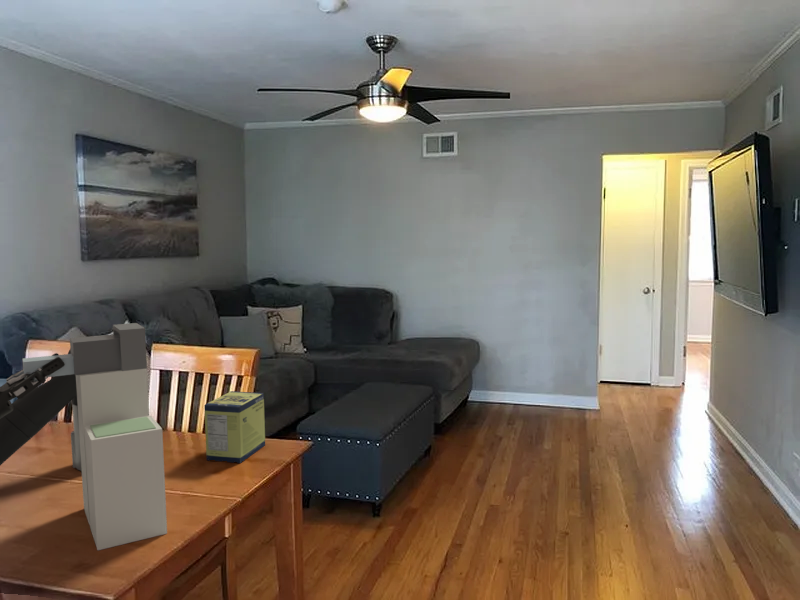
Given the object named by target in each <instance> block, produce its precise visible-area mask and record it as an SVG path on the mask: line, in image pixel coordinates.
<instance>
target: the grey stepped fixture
mask: <svg viewBox="0 0 800 600" xmlns="http://www.w3.org/2000/svg"><path fill="white" fill-rule="evenodd" d="M113 334H120V350H121V369H122V370H116V371H108V372H99V373H90V374H81V375H76V388H77V404H78V420H79V436H80V453H81V469H82V471H81V480H82V481H81V483H82V498H83V499H82V501H83V510H84V514H85V516H86V519H87V522H88V525H89V529H90V531H91V534H92V537H93V541H94V543H95V546H96V551H102V550H106V549H109V548H113V547H114V548H115V547H118V546H121V545H125V544H129V543H130V544H131V543H134V542H138V541H142V540H146V539H150V538H155V537H159V536H162V535H167V534H168V523H167V522H168V521H167V502H166V499H167V498H166V481H165V463H164V462H165V460H164V458H165V457H164V442H163V441H164V438H163V437H164V436H163V428H162V427H161V426H160V424H159V423H158V422H157V421H156V420H155V419H154V417H153V416H152V415H150V405H149V403H150V402H149V386H148V385H149V384H148V366H147V365H148V363H147V347H146V346H147V345H146V344H147V342H146V328H145V327H144V326H143V325H140V324H139V323H137V322H132V323H123V324H122V323H118V324H112V335H113Z"/></svg>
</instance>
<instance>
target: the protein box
mask: <svg viewBox="0 0 800 600" xmlns="http://www.w3.org/2000/svg"><path fill="white" fill-rule="evenodd" d="M264 396H265V394H264V392H253V391H250V392H249V391H248V392H247V391H236V390H235V391H233V390H232V391H229V392H227V393H225V394H223V395H221V396H218V397H217V398H215V399H213V400H211V401H209V402H207V403H205V404H204V406H203V407H204V424H205V425H204V427H205V428H204V429H205V430H204V431H205V449H206V450H205V451H206V454H205V455H206V460H207V461H210V460H215V461H214V462H222V461H227V462H226V463H234V462H237V463H236V464H242V463H243V462H245V459H246V460H247V459H248V458H251V456H252V455H253V454H255V453H257V452H258V451H259V450H261V449H263V447H265V446H266V428H265V427H266V426H265V423H266V421H265V420H266V419H265V399H264V398H265V397H264ZM242 461H243V462H242Z"/></svg>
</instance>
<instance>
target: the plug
mask: <svg viewBox="0 0 800 600" xmlns="http://www.w3.org/2000/svg"><path fill="white" fill-rule="evenodd" d="M69 345H70V346H69V347H70V348H69V350H71V354H68V353H65V354H59V355H54V356H52V355H46V356H35V357H24V358H22V370H23V371H24V374H25V373H26V372H30V373H31V372H33V371H34V370H36V369H37V368H40V367H41V368H42V366H44V365H45V364H47V363H48V362H50V361H52V360H53V359H55V358H56V357H60V358H61V359H62V361H63V362H64V364H65V365H64V366H63V367H62V368H60V369H59V370H57V371H55V372H54V373H52V374H51V375H49V376H48V375H47V376H48V378H53V377H54V376H62V375H71V374H75V375H81V374H90V373H99V372H108V371H116V370H122V369H121V350H120V334H113V333H112V334H103V335H92V336H90V335H89V336H80V337H69ZM42 369H43V368H42ZM24 379H26V377H24ZM34 379H36V378H35V377H34Z"/></svg>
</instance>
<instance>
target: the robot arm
mask: <svg viewBox="0 0 800 600" xmlns="http://www.w3.org/2000/svg"><path fill="white" fill-rule="evenodd" d="M67 354H71V350H70V349H69V350H68V353H67ZM54 355H60V354H59V353H58V352H55V353H53V354H52V355H51V356H54ZM64 365H65V364H64V362H63V361H62V359H61V358H60V357H56V358H55V359H53V360H52V361H50V362H48V363H47V364H45V365H44V366H42V368H43V369H42V368H41V367H40V368H37V369H36V370H34V371H33V372H31V373H30V372H26V373H25V374H24V371H23V369H21V370H19V371H17V372H16V373H14V374H11V375H10V376H9V377H7V378H6V379H5V380H6V382H5V383H3V384H2V385H1V386H0V466H2V465H3V464H4V463H5V462H6V461H7V460H8V459H9V458H10V457H11V456H13V455H14V454H15V453H16V452H18V450H20V449H21V448H22V447H23V446H24V445H25V444H26V443H27V442H29V441H30V440H31V439H32V438H33V437H34V436H36V435H37V434H38V433H39V432H40V431H41V430H43V428H44V427H45V426H46V425H47V424H48V423H49V422H50V421H51V420H52V419H54V418H55V417H56V416H57V415H58V414H59V413H60V412H61V411H62V410H63V409H64V408H65V407H66V406H67V405H68V404H69V403H70V402H71V403H72V404H71V405H72V406H71V407H72V418H73V431H71V432H70V442H71V445H70V446H71V457H72V458H71V460H72V468H74V469H77V470H78V471H81V472H82V469H81V453H80V436H79V420H78V404H77V388H76V375H75V374H71V375H62V376H54V377H51V379H49V380H47V379H48V378H49V377H48V376H49V375H51V374H52V373H54V372H55V371H57V370H59V369H60V368H62V367H63V366H64ZM47 375H48V376H47ZM24 377H26V379H24ZM34 377H35V378H36V379H34ZM15 398H17V399H16V400H15V401H13V402H11V401H12V400H14V399H15Z"/></svg>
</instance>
